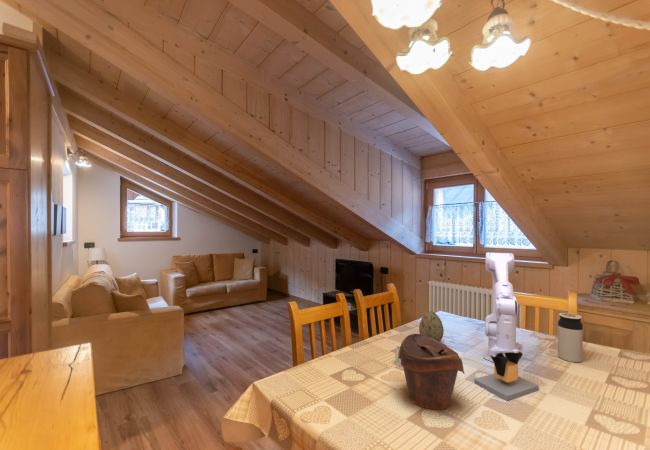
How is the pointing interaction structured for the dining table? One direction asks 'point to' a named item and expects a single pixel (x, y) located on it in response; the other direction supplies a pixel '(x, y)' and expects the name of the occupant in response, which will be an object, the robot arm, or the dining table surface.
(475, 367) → the dining table surface
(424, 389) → the brown tapered pot
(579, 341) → the travel mug
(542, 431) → the dining table surface
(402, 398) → the dining table surface
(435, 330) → the decorative egg
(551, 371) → the dining table surface
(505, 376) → the light orange cube
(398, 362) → the valve
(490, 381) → the plate
